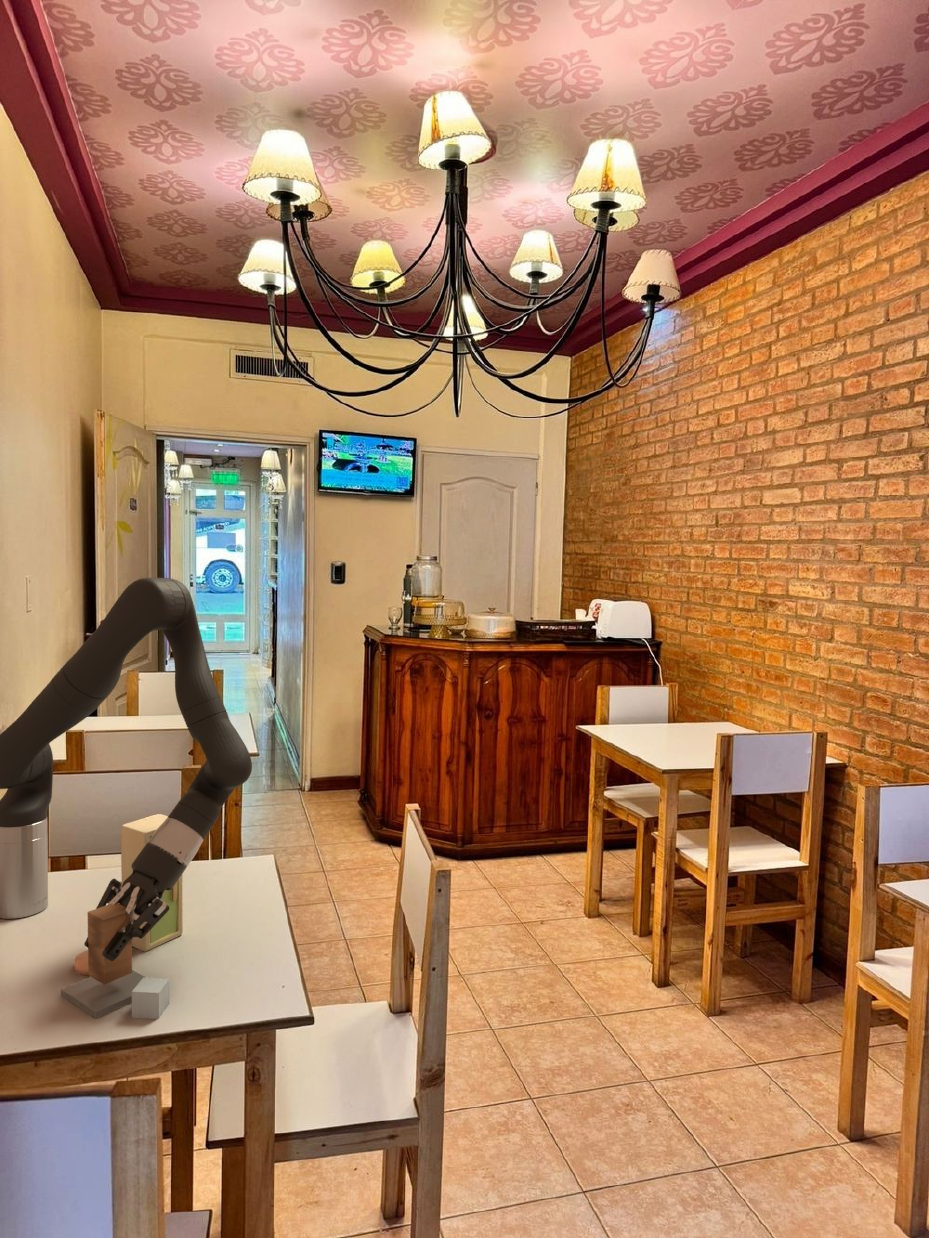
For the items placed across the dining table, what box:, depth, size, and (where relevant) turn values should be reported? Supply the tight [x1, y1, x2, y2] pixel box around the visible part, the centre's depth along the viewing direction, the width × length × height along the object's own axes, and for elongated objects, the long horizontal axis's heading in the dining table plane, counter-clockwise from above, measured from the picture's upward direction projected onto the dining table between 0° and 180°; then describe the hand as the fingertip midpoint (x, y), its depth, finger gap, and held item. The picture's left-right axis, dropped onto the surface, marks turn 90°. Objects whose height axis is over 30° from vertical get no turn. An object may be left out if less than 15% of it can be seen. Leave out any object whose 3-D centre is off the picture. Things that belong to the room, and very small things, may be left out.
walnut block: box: [87, 903, 133, 985], centre depth 124 cm, size 4×4×10 cm
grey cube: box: [131, 977, 171, 1019], centre depth 120 cm, size 4×4×4 cm
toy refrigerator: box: [120, 813, 184, 952], centre depth 141 cm, size 8×7×21 cm
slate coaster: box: [60, 969, 147, 1019], centre depth 124 cm, size 10×10×1 cm
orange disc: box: [73, 950, 89, 976], centre depth 132 cm, size 6×6×2 cm
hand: (98, 952), depth 122 cm, fingers closed on walnut block, 4 cm apart
